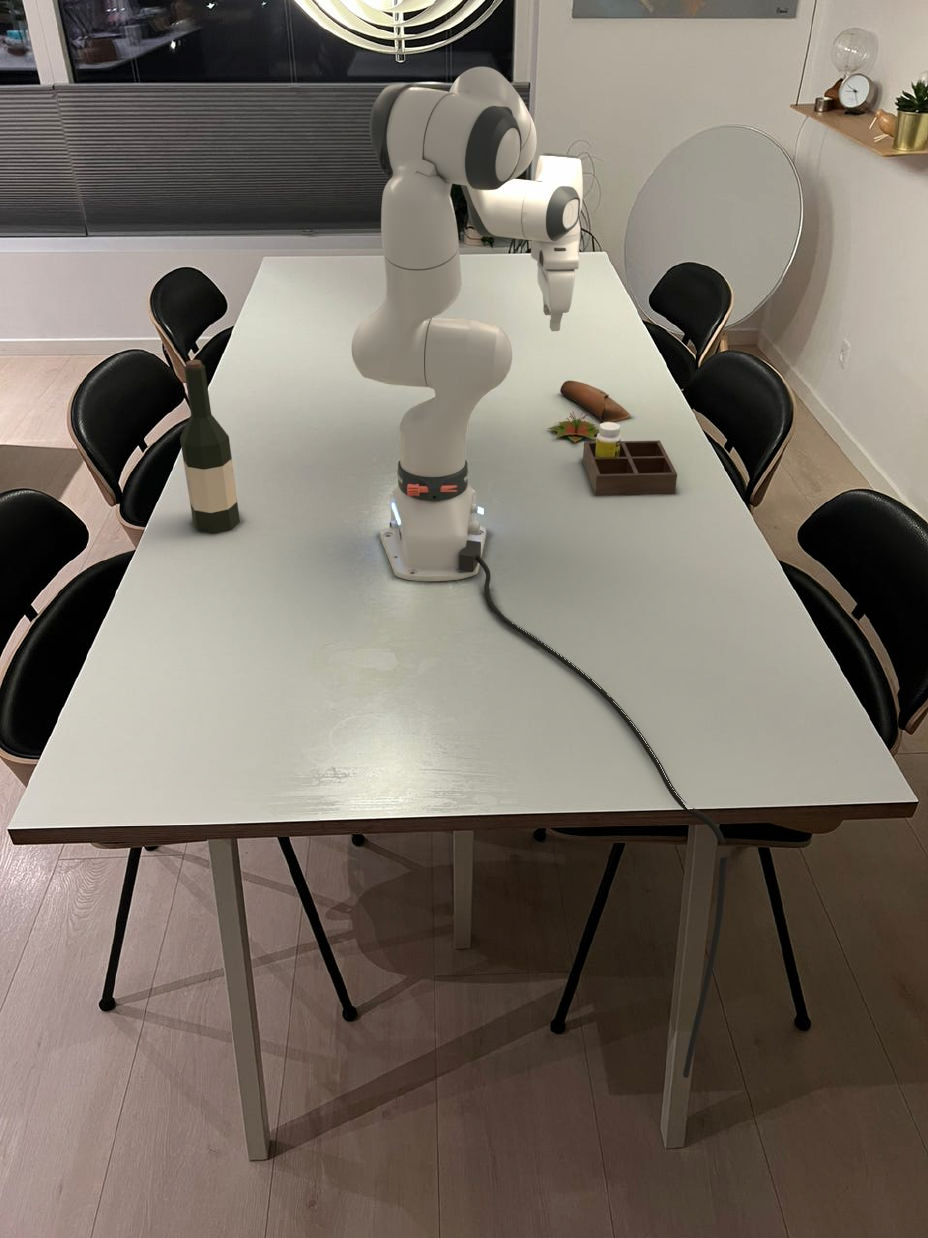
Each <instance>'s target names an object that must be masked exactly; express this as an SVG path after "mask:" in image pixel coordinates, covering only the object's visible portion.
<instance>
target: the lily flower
mask: <svg viewBox="0 0 928 1238" xmlns="http://www.w3.org/2000/svg"><path fill="white" fill-rule="evenodd" d="M583 413H584V411H582V413H580V415H579V417H578V418H576V415H575V412H574V411H572V413H571V412H570V413H569V418H571V420H570V419H569V418H568V417H566V420H563V421H558V425H554V426H551V427H546V429H547V430H552V431H555V432H557V433H556V436H555V438H560V437H563V436H567V438H568V439H569V440H570V441H572V442H573V443H574V444H576V442H578V441H580V440H582V439H584V438H588V439H590V440H593V441H596V439H595V435H598V433H599V428H595V426H597V424H595V423H593V422H590V421H587V420H584V419H585V418H586V417H587V416H588V414H585V415H583ZM582 415H583V416H582Z"/></svg>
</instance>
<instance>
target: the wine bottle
mask: <svg viewBox="0 0 928 1238" xmlns="http://www.w3.org/2000/svg"><path fill="white" fill-rule="evenodd" d="M183 370H184V377H185V383H186V390H187V397H188V403H189V411H190V416H189V418H188V420H187V422H186V424H185V426H184V428H183V431H182V432H181V435H180V436H179V441H180V447H181V453H182V459H183V465H184V466H183V467H184V472H185V473H184V474H185V479H186V480H185V481H186V485H187V486H186V487H187V492H188V499H189V505H190V511H191V516H192V523H193V526H194V527H195V529H196V530H197V531H198V532H203V533H207V534H213V535H215V534H219V533H223V532H229V531H232V530H233V529H235V527H236V526H237V525H238V524H239V523H240V522H241V520H240V519H241V518H240V511H239V505H238V496H237V495H238V494H237V490H236V489H237V487H236V480H235V473H234V465H233V457H232V450H231V443H230V442H231V441H230V436H229V435H228V433H227V432H226V431H225V429H224V428H223V427H222V426H221V424H220V423H219V422H218V420H217V419H216V417H214V415H213V414H212V409H211V403H210V402H211V401H210V394H209V387H208V386H209V385H208V380H207V372H206V366H205V365H204V364H203V363H202V360H200V359H190V360H187V361H186V362H185V366H183Z"/></svg>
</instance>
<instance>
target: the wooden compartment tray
mask: <svg viewBox="0 0 928 1238" xmlns="http://www.w3.org/2000/svg"><path fill="white" fill-rule="evenodd" d="M582 449H583V452H582V462H583V465H584V468H585V471H586V474H587V477H588V479H589V482H590V485H591V487H592V491H593V493H594V495H595V496H623V495H624V496H625V495H626V496H628V495H629V496H630V495H666V494H667V495H668V494H669V495H671V494H676V488H677V481H678V473H677V471H676V469H675V467H674V464H673V463H672V461H671V459H670V456H669V455H668V453H667V451H666V449H665V447H664V445H663V444H662V442H661V440H658V439H657V440H621V442H620V452H619V457H595V452H596V441H584V442H583V448H582Z"/></svg>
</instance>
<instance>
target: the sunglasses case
mask: <svg viewBox="0 0 928 1238" xmlns="http://www.w3.org/2000/svg"><path fill="white" fill-rule="evenodd" d="M559 391H560V394H561V395H563V396H565V397H566V398H568V399H570V400H572V401H574V402H575V403H577V404H578V405H579V406H581V407H583V408H584V409H585V410H587V411H588V412H590V413H591V414H593V415H594V416H595V417H597V419H599V420H601V421H602V423H604V422H613V423H617V422H620V421H623V420H627V419H630V418H631V415H630V413H629V411H627V410H626V409H625V408H624V407H623V406H622V405H621V404H620V403H618V402H617V401H616V400H614V399H613V398H611V397H610V395H609V394H608V393H607V392H605V391H603V390H601V389H599V388H597V387H595V386H592V385H590V384H588V383H584V382H580V381H576V380H566V381H564V382H563V383H562V385H561V386H560V389H559Z"/></svg>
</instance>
